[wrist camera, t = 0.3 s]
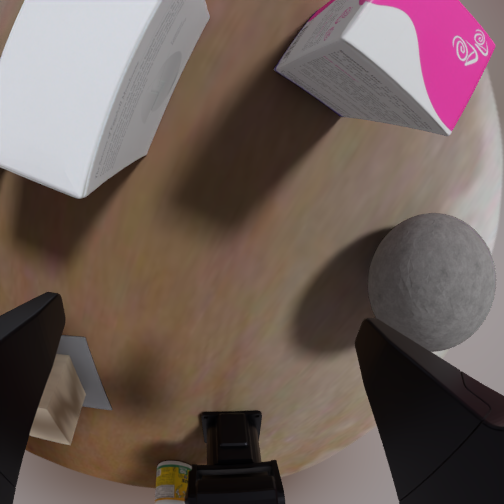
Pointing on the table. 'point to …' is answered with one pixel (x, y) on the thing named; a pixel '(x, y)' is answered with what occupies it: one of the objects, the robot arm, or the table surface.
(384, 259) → the decorative ball
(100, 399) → the gray tile
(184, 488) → the supplement bottle
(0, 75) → the skincare box
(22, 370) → the robot arm
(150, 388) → the table surface
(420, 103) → the supplement box
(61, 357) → the maple block
